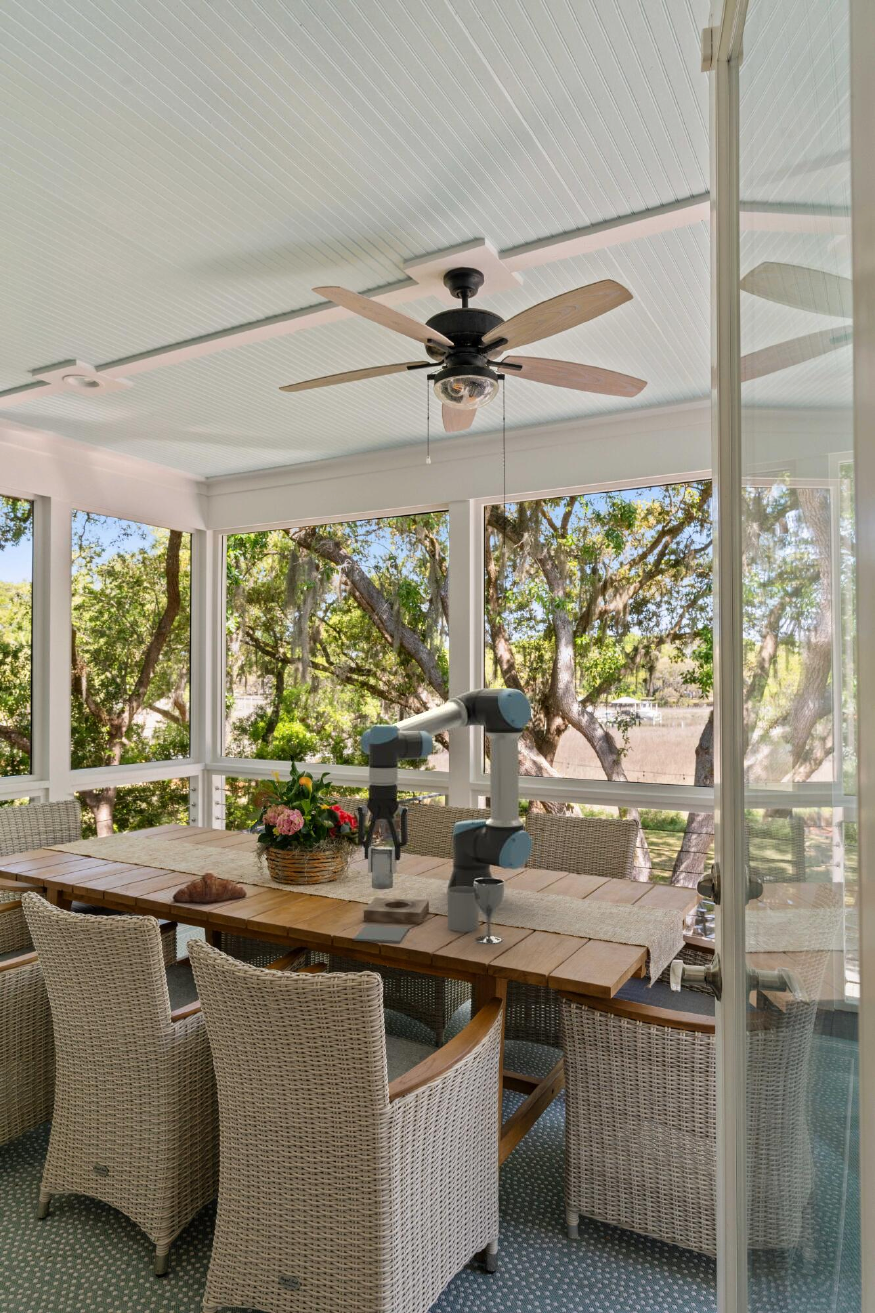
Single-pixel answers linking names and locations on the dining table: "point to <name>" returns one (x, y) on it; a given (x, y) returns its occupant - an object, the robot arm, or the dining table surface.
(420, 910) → the block
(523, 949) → the dining table surface
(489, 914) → the wine glass
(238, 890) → the pastry
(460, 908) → the cup
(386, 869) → the plug
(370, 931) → the mat
